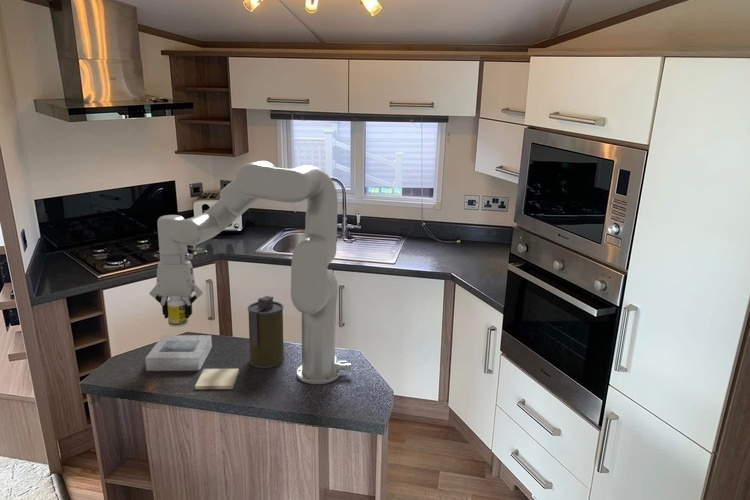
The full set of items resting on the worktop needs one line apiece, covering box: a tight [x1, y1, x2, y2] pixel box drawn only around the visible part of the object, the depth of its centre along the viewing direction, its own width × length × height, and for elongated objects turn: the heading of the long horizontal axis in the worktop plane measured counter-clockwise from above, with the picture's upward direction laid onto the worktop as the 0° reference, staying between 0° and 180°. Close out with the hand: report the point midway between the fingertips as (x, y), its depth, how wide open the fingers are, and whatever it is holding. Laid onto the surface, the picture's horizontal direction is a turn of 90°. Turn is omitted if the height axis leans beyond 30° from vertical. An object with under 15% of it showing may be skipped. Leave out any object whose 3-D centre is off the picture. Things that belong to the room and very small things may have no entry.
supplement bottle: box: [167, 296, 189, 328], centre depth 160 cm, size 5×5×10 cm
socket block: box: [144, 334, 213, 372], centre depth 163 cm, size 15×16×4 cm
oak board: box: [194, 368, 240, 390], centre depth 151 cm, size 10×10×1 cm
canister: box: [247, 295, 285, 369], centre depth 161 cm, size 11×10×20 cm
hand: (177, 316), depth 160 cm, fingers closed on supplement bottle, 5 cm apart
